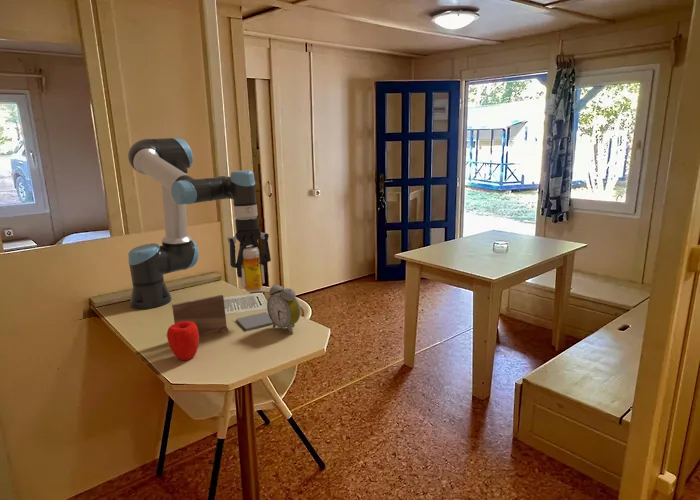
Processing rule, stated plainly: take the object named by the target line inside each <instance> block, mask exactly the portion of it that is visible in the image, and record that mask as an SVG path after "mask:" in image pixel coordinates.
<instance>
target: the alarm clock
mask: <svg viewBox="0 0 700 500" xmlns="http://www.w3.org/2000/svg"><path fill="white" fill-rule="evenodd" d="M268 293H269V297H268V299H267V302H266V309H267V313H268V314H269V317H270V319H271V320H272V322H273V325H272V327H273V328H275V327H278V328H280V329H284V328H287V329H288V331H289V334H290V335H293V334H294V331H293V327H296V325H295V324H296V323H297V322H298V321H299V319H300V317H301V307H300V304H299V303H300V302H299V301H298V299H297V295H296V292H295V291H294V289H292V288H290V287H285V288H284V287H283V286H281V285H279V284H272V286H271V287H270V289H269V292H268Z"/></svg>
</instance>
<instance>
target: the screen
mask: <svg viewBox="0 0 700 500" xmlns="http://www.w3.org/2000/svg"><path fill="white" fill-rule="evenodd" d="M171 307H172V315H173V321H174V323H173V324H176V323H179V322H182V321H191V322H194V323H195V324H196V326H197V328H198V332H199V337H201V336H205V335H209V334H213V333H218V332H222V333H227V332H229V328H228V325H227V318H226V308H225V307H226V306H225V298H224V295H223V294H217V295H214V296H209V297H203V298H199V299H193V300H188V301H184V302H179V303H172V304H171Z"/></svg>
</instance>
